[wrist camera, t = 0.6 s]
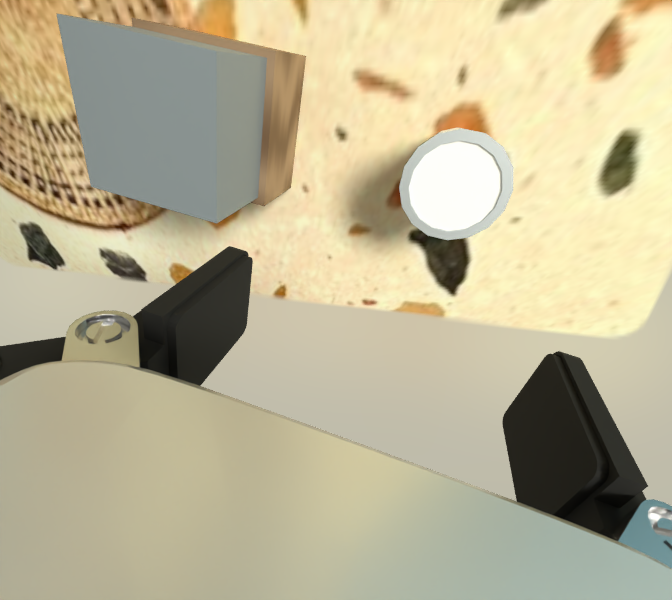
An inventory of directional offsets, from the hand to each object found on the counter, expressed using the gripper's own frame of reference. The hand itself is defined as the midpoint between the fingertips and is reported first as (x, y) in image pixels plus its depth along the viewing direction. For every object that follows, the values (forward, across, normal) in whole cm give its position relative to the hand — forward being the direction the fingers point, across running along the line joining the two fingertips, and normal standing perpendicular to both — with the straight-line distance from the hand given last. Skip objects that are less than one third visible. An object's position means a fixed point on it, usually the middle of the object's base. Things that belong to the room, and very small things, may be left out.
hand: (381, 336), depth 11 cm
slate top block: (+16, +16, -2) cm, 23 cm away
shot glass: (+22, -2, -2) cm, 22 cm away
